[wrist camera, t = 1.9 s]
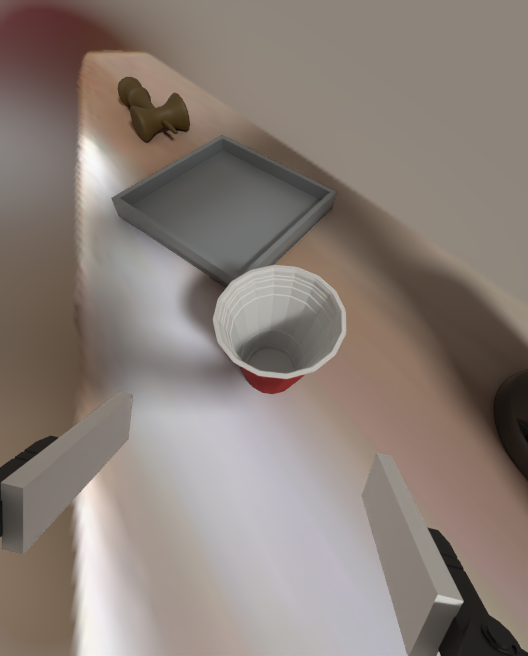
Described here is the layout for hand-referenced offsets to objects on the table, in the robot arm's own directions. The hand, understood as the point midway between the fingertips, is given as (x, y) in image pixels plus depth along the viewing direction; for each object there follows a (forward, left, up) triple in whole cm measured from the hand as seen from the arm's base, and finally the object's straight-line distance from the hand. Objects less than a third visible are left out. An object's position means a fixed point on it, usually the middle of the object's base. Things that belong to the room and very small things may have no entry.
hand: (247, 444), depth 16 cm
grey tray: (+25, -28, -15) cm, 41 cm away
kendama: (+53, -38, -15) cm, 67 cm away
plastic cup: (+4, -10, -15) cm, 19 cm away
